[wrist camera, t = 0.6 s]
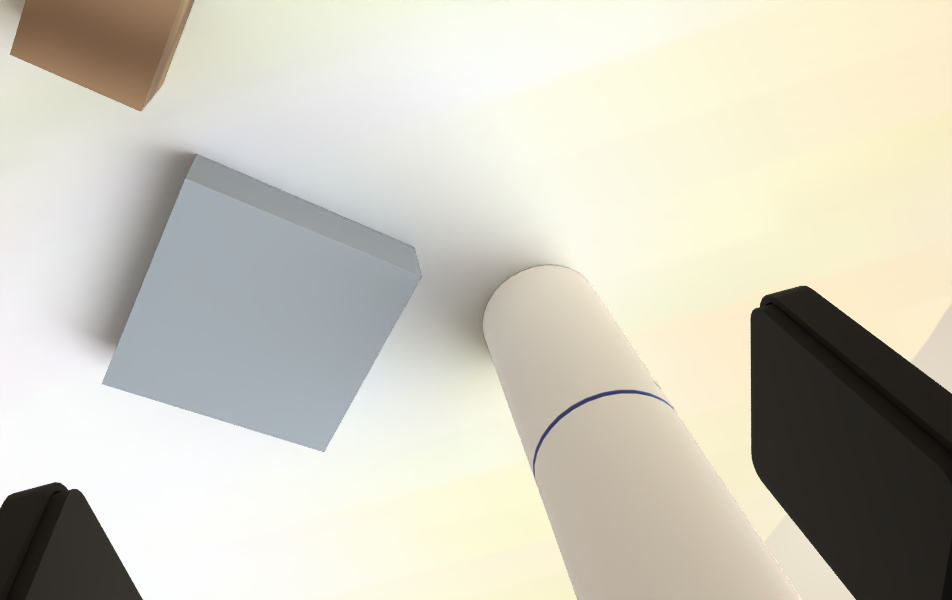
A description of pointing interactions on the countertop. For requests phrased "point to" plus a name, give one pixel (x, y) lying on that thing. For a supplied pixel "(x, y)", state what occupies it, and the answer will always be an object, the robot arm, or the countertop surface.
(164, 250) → the grey base block
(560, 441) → the cylindrical container
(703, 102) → the countertop surface
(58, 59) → the walnut cube
